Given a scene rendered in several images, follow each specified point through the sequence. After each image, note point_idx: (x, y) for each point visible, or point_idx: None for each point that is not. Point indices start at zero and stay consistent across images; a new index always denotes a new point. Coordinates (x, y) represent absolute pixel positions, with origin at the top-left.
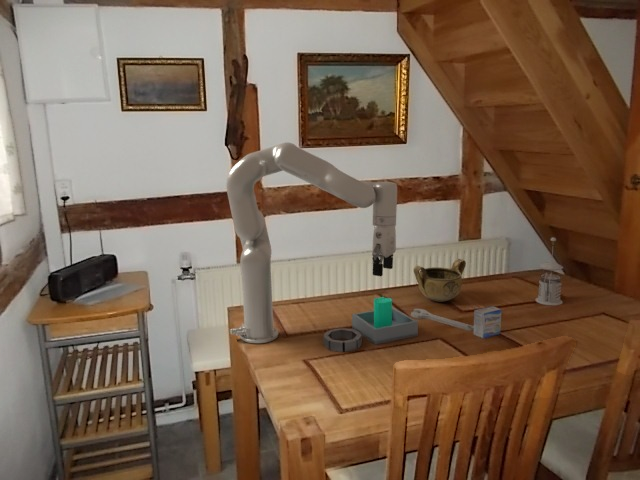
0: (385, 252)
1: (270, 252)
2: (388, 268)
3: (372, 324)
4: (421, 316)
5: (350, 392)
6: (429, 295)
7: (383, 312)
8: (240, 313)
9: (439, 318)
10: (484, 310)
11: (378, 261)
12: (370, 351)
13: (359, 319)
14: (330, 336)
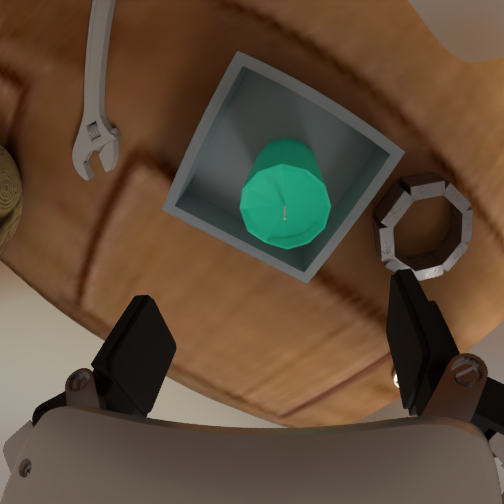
0: (499, 486)
1: None
2: (158, 315)
3: None
4: (110, 131)
5: None
6: (19, 188)
7: (319, 171)
8: (336, 423)
9: (94, 80)
10: None
11: (499, 390)
12: (432, 133)
13: (339, 242)
14: (421, 263)
